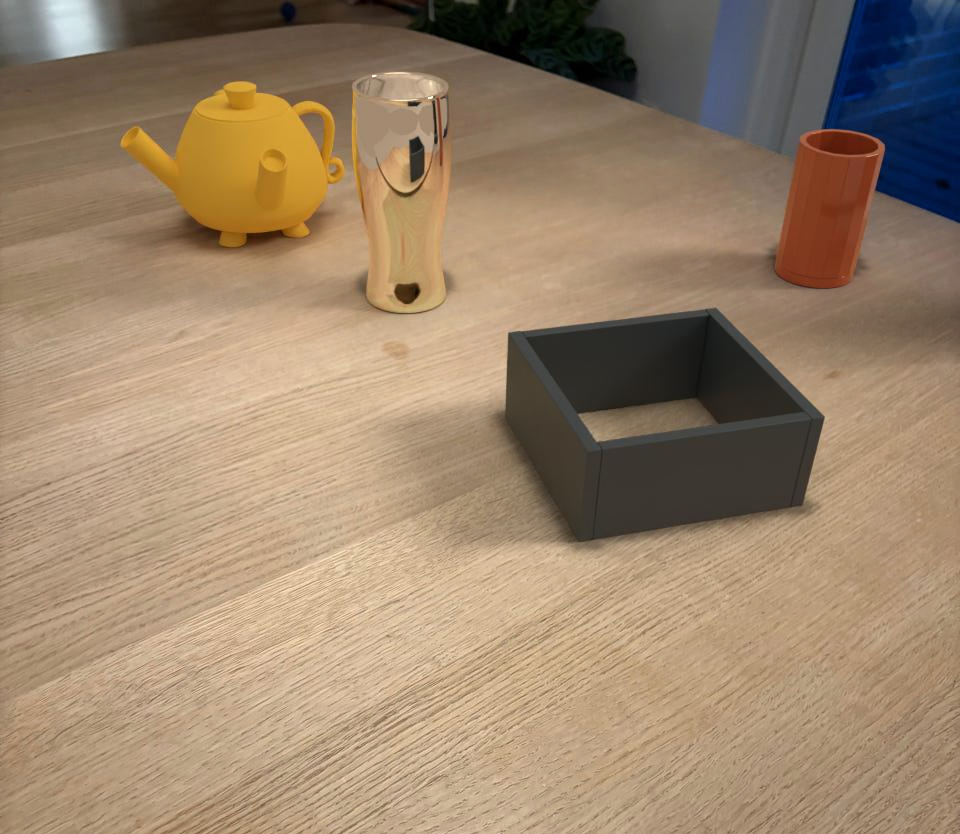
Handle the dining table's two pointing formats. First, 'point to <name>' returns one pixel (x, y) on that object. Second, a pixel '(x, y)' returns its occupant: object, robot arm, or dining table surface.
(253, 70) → the dining table surface
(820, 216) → the tumbler
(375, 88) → the beer glass
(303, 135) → the teapot
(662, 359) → the open box
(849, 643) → the dining table surface
